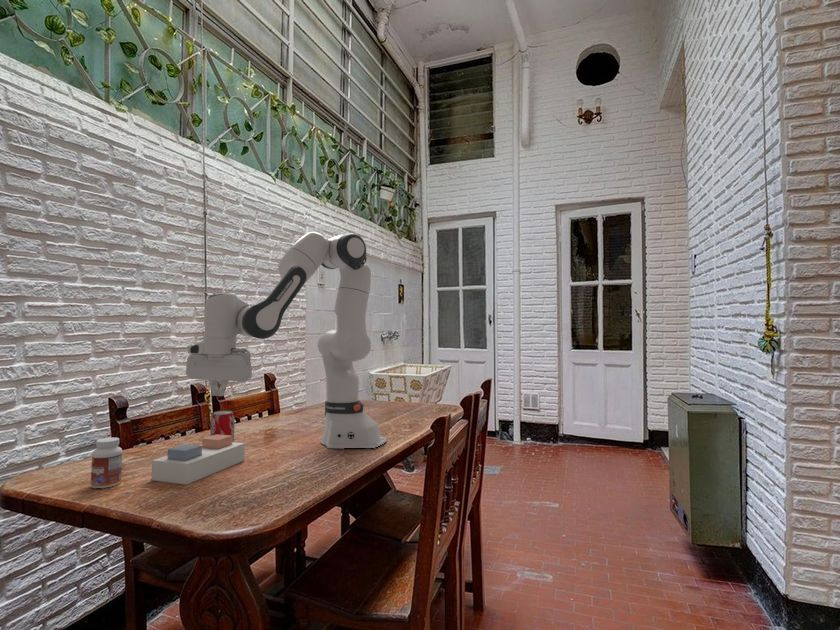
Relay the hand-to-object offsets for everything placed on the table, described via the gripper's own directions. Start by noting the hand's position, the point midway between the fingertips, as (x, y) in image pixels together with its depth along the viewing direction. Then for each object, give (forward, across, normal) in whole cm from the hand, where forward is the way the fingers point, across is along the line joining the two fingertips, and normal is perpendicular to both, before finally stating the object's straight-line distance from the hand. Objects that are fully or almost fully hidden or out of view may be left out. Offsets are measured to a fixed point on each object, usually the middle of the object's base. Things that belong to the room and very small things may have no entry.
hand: (218, 395), depth 129 cm
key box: (+19, 0, +6) cm, 20 cm away
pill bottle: (+20, +13, +23) cm, 33 cm away
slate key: (+16, 0, +12) cm, 20 cm away
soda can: (+20, +9, -13) cm, 25 cm away
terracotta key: (+16, 0, 0) cm, 16 cm away
